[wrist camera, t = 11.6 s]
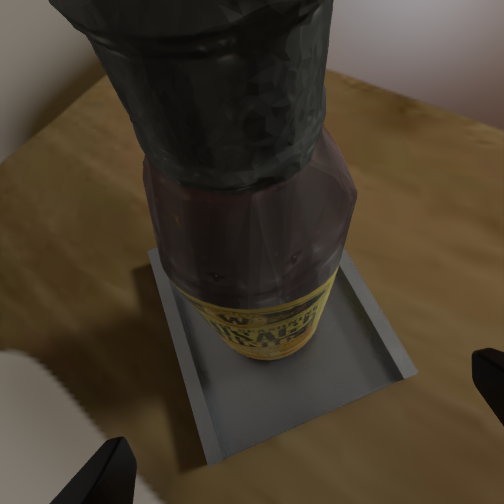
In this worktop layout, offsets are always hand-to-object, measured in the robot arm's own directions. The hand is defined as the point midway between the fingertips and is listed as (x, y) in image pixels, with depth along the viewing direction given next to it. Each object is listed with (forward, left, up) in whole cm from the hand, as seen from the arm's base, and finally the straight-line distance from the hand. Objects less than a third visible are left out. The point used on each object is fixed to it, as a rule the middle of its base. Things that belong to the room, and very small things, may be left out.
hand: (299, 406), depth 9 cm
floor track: (+6, 0, -12) cm, 13 cm away
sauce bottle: (+6, -1, -11) cm, 13 cm away
